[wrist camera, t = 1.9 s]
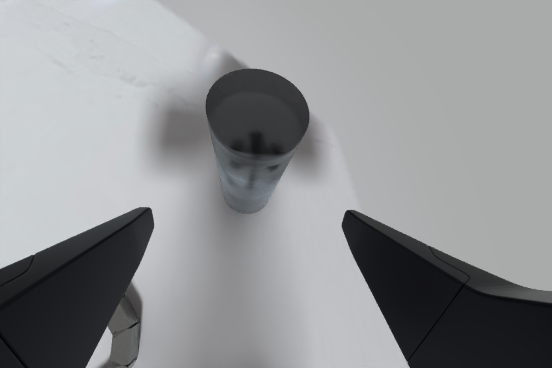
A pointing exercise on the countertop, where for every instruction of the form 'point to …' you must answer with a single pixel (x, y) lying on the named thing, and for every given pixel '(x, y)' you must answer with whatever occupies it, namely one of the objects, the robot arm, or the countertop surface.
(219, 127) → the dark grey metallic cylinder
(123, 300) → the ring
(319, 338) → the countertop surface
